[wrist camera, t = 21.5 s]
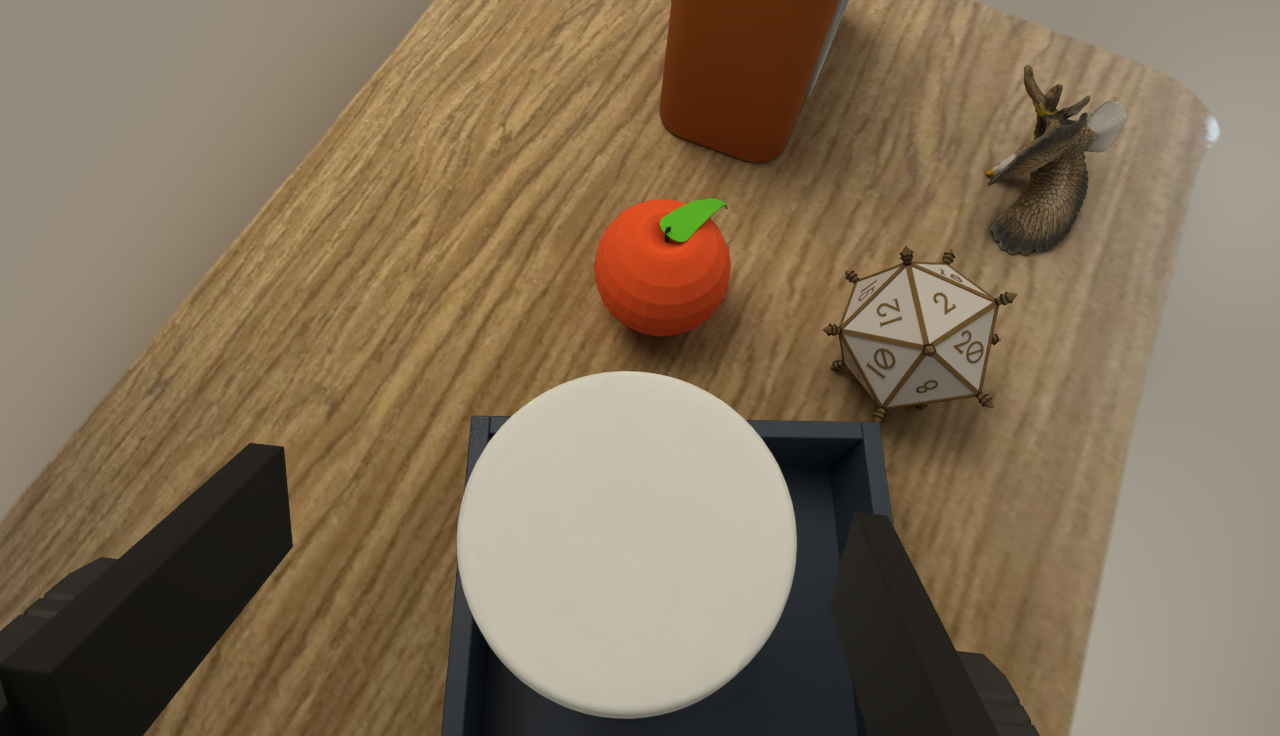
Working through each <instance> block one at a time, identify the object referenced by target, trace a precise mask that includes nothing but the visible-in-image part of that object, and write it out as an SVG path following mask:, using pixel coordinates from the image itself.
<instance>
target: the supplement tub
mask: <svg viewBox="0 0 1280 736" xmlns="http://www.w3.org/2000/svg"><path fill="white" fill-rule="evenodd" d="M796 553H797V534H796V522H795V515H794V510H793V505H792V500H791V497H790V494H789V491H788V487H787V484H786V482H785V479H784V477H783V474H782V472H781V470H780V467H779V465H778V463H777V462H776V460H775V458H774V456H773V455H772V453H771V452H770V450H769V449H768V447H767V446H766V444H765V443H764V441H763V440H762V438H761V437H760V436H759V435H758V433H757V432H756V431H755V430H754V429H753V427H752V426H751V425H750V424H749V423H748V422H747V421H746V420H745V419H744V418H743V417H742V416H740V415H739V414H738V413H737V412H736V411H735V410H733V409H732V408H731V407H730V406H728V405H727V404H726V403H724V402H723V401H721V400H720V399H718V398H717V397H715V396H714V395H712V394H710V393H709V392H707V391H705V390H703V389H701V388H699V387H697V386H694V385H692V384H690V383H687V382H685V381H682V380H679V379H676V378H672V377H668V376H664V375H659V374H654V373H647V372H632V371H618V372H605V373H599V374H593V375H588V376H585V377H581V378H577V379H574V380H571V381H569V382H566V383H563V384H561V385H559V386H557V387H555V388H552V389H550V390H548V391H546V392H545V393H543V394H541V395H540V396H538V397H536V398H534V399H533V400H532V401H530V402H529V403H528V404H526V405H525V406H524V407H522V408H521V409H520V410H519V411H517V412H516V413H515V414H514V415H512V416H511V417H510V418H509V419H508V420H507V421H506V422H505V423H504V424H503V425H502V426H501V428H500V429H499V430H498V431H497V432H496V434H495V435H494V436H493V437H492V439H491V440H490V441H489V443H488V444H487V446H486V447H485V449H484V451H483V452H482V454H481V456H480V457H479V459H478V461H477V462H476V464H475V466H474V468H473V470H472V473H471V475H470V478H469V480H468V483H467V486H466V489H465V492H464V495H463V499H462V503H461V507H460V513H459V519H458V528H457V557H458V568H459V573H460V577H461V582H462V586H463V591H464V594H465V596H466V599H467V602H468V605H469V608H470V610H471V612H472V615H473V617H474V619H475V621H476V623H477V625H478V627H479V629H480V631H481V632H482V634H483V636H484V638H485V639H486V641H487V643H488V644H489V646H490V647H491V649H492V650H493V651H494V653H495V654H496V655H497V657H498V658H499V659H500V660H501V661H502V662H503V664H504V665H505V666H506V667H507V668H508V669H509V670H510V671H511V672H512V673H513V674H514V675H515V676H516V677H518V678H519V679H520V680H521V681H522V682H523V683H525V684H526V685H527V686H529V687H530V688H532V689H533V690H534V691H536V692H537V693H539V694H541V695H542V696H544V697H546V698H547V699H549V700H551V701H553V702H555V703H557V704H560V705H562V706H564V707H567V708H569V709H572V710H575V711H578V712H582V713H585V714H589V715H594V716H599V717H606V718H622V719H633V718H645V717H651V716H658V715H662V714H666V713H670V712H674V711H677V710H679V709H682V708H685V707H688V706H690V705H692V704H694V703H696V702H699V701H701V700H702V699H704V698H706V697H707V696H709V695H711V694H712V693H714V692H715V691H717V690H718V689H720V688H721V687H722V686H724V685H725V684H726V683H728V682H729V681H730V680H731V679H732V678H734V677H735V676H736V675H737V674H738V673H739V672H740V671H741V670H742V669H743V668H744V667H745V666H746V665H747V664H748V663H749V662H750V661H751V660H752V659H753V658H754V656H755V655H756V654H757V653H758V652H759V651H760V649H761V648H762V647H763V645H764V644H765V642H766V641H767V640H768V638H769V637H770V635H771V634H772V632H773V630H774V628H775V626H776V625H777V623H778V621H779V619H780V617H781V614H782V612H783V610H784V607H785V604H786V602H787V599H788V596H789V593H790V590H791V586H792V582H793V577H794V572H795V566H796Z"/></svg>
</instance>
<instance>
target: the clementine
mask: <svg viewBox="0 0 1280 736" xmlns="http://www.w3.org/2000/svg"><path fill="white" fill-rule="evenodd" d="M723 206H725V207H726V209H727V205H726V204H725V203H724V202H723V201H721V200H718V199H715V198H710V199H702V200H697V201H694V202H691V203H688V204H686V203H683V202H680V201H674V200H668V199H661V200H649V201H646V202H642V203H639V204H636V205H634V206H632V207H630V208H629V209H627V210H625V211H623V212H622V213H621V214H620V215H619V216H618V217H617V218H616V219H615V220H614V221H613V222H612V223H611V224H610V225H609V226H608V228H607V229H606V231H605V233H604V234H603V236H602V238H601V240H600V242H599V246H598V250H597V255H596V260H595V264H594V267H595V278H596V283H597V287H598V290H599V293H600V295H601V298H602V300H603V303H604V304H605V305H606V307H607V308H608V309H609V311H610V312H611V313H612V314H613V316H614V317H616V318H617V319H618V320H620V321H621V322H622V323H624V324H625V325H626V326H628V327H629V328H631V329H633V330H636V331H638V332H640V333H643V334H647V335H653V336H673V335H677V334H680V333H683V332H686V331H689V330H692V329H694V328H696V327H697V326H699V325H700V324H702V323H703V322H705V321H707V319H708V318H709V317H710V316H711V315H712V314H713V313H714V311H715V310H716V309H717V308H718V306H719V305H720V303H721V302H722V300H723V297H724V295H725V293H726V291H727V289H728V284H729V276H730V266H731V262H730V256H729V250H728V247H727V245H726V243H725V241H724V238H723V236H722V234H721V232H720V230H719V228H718V227H717V226H716V224H715V223H714V222H713V221H712V220H711V219H710V218H709V217H710V216H711V215H712V214H713V213H715V212H716V211H717V210H718V209H720V208H721V207H723Z"/></svg>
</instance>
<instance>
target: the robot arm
mask: <svg viewBox="0 0 1280 736" xmlns="http://www.w3.org/2000/svg"><path fill="white" fill-rule="evenodd" d="M292 547H293V544H292V533H291V522H290V510H289V499H288V488H287V477H286V466H285V455H284V447H281V446H272V445H264V444H255V443H250V444H248V445H247V446H246V447H245V448H244V449H243V450H242V451H240V452H239V453H238V454H237V455H236V456H235V457H234V458H233V459H231V460H230V461H229V462H228V463H227V464H226V465H225V466H223V467H222V468H221V469H220V470H219V471H218V472H217V473H216V474H214V475H213V476H212V477H211V478H210V479H209V480H208V481H206V482H205V483H204V484H203V485H202V486H201V487H200V488H198V489H197V490H196V491H195V492H194V493H193V494H192V495H191V496H189V497H188V498H187V499H186V500H185V501H184V502H183V503H181V504H180V505H179V506H178V507H177V508H176V509H175V510H174V511H172V512H171V513H170V514H169V515H168V516H167V517H166V518H164V519H163V520H162V521H161V522H160V523H159V524H158V525H157V526H155V527H154V528H153V529H152V530H151V531H150V532H149V533H147V534H146V535H145V536H144V537H143V538H142V539H141V540H140V541H138V542H137V543H136V544H135V545H134V546H133V547H132V548H130V549H129V550H128V551H127V552H126V553H125V554H124V555H122V556H121V557H120V558H119V559H112V558H103V557H101V558H99V559H97V560H95V561H93V562H91V563H89V564H87V565H85V566H83V567H81V568H79V569H77V570H76V571H74V572H72V573H70V574H68V575H67V576H66V577H65V578H63V579H62V580H61V581H60V582H59V583H57V584H56V585H55V586H54V587H53V588H51V589H50V590H49V591H48V592H47V593H45V596H44V598H39V599H38V600H37V601H36V602H35V603H33V604H32V605H31V606H30V607H29V608H27V609H26V610H25V613H24V614H23V616H22V615H19V616H18V617H17V618H15V619H14V620H13V621H12V622H11V623H9V624H8V625H7V626H6V627H5V628H3V629H2V630H1V631H0V736H143V735H144V733H145V732H146V731H147V730H148V728H149V727H150V726H151V725H152V723H153V722H154V721H155V720H156V718H157V717H158V716H159V715H160V713H161V712H162V711H163V710H164V708H165V707H166V706H167V704H168V703H169V702H170V701H171V699H172V698H173V697H174V696H175V694H176V693H177V692H178V691H179V689H180V688H181V687H182V686H183V684H184V683H185V682H186V681H187V679H188V678H189V677H190V675H191V674H192V673H193V672H194V670H195V669H196V668H197V667H198V665H199V664H200V663H201V662H202V660H203V659H204V658H205V657H206V655H207V654H208V653H209V652H210V650H211V649H212V648H213V646H214V645H215V644H216V643H217V641H218V640H219V639H220V638H221V636H222V635H223V634H224V633H225V631H226V630H227V629H228V628H229V626H230V625H231V624H232V623H233V621H234V620H235V619H236V617H237V616H238V615H239V614H240V612H241V611H242V610H243V609H244V607H245V606H246V605H247V604H248V602H249V601H250V600H251V599H252V597H253V596H254V595H255V594H256V592H257V591H258V590H259V588H260V587H261V586H262V585H263V583H264V582H265V581H266V580H267V578H268V577H269V576H270V575H271V573H272V572H273V571H274V570H275V568H276V567H277V566H278V565H279V563H280V562H281V561H282V559H283V558H284V557H285V556H286V554H287V553H288V552H289V551H290V549H291V548H292ZM829 608H830V611H831V615H832V618H833V621H834V624H835V627H836V631H837V634H838V637H839V640H840V644H841V647H842V650H843V653H844V656H845V660H846V663H847V666H848V669H849V673H850V676H851V679H852V682H853V685H854V689H855V692H856V695H857V698H858V702H859V705H860V708H861V711H862V715H863V718H864V721H865V724H866V727H867V731H868V734H869V736H1040V735H1039V734H1038V732H1037V730H1036V728H1035V727H1034V725H1031V720H1030V718H1029V716H1028V714H1027V713H1026V711H1025V709H1024V707H1023V706H1022V705H1020V703H1019V702H1020V700H1019V699H1018V697H1017V695H1016V693H1015V691H1014V690H1013V688H1012V686H1011V684H1010V683H1009V681H1008V679H1007V677H1006V676H1005V675H1004V674H1003V673H1002V672H1001V671H1000V670H999V669H998V668H997V667H996V666H995V665H994V664H993V663H992V662H991V661H990V660H989V659H988V658H987V657H986V656H985V655H984V654H978V653H969V652H960V651H956V650H955V648H954V646H953V644H952V642H951V640H950V638H949V636H948V634H947V632H946V630H945V628H944V626H943V624H942V622H941V620H940V618H939V616H938V614H937V612H936V610H935V608H934V606H933V604H932V602H931V600H930V598H929V596H928V594H927V592H926V590H925V588H924V587H923V585H922V583H921V581H920V579H919V577H918V575H917V573H916V571H915V569H914V567H913V565H912V563H911V561H910V559H909V557H908V555H907V553H906V551H905V549H904V547H903V545H902V543H901V541H900V539H899V537H898V535H897V533H896V531H895V529H894V527H893V525H892V523H891V522H890V520H889V518H888V516H886V515H878V514H869V513H860V512H854V516H853V520H852V523H851V527H850V531H849V534H848V538H847V542H846V546H845V549H844V553H843V557H842V561H841V564H840V568H839V572H838V575H837V579H836V583H835V587H834V590H833V594H832V598H831V602H830V605H829Z"/></svg>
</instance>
